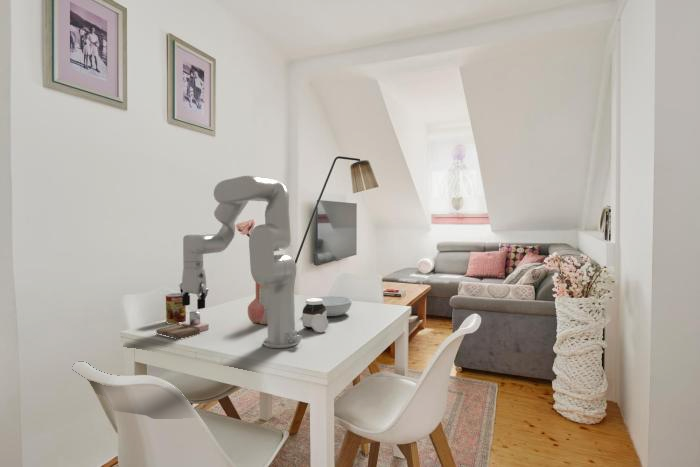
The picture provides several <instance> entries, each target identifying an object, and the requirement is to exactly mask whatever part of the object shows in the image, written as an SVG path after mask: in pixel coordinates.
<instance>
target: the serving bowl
mask: <svg viewBox="0 0 700 467" xmlns="http://www.w3.org/2000/svg"><path fill="white" fill-rule="evenodd" d="M314 298H320V299H323V305H324V306H325V307H326V311H327V316H335V317H338V316H341V315H344V314H345V313H347V312H348V311H349V310H350V308H351V306H352V299H351V298H349V297H347V296H340V295H339V296H338V295H328V296H327V295H325V296H324V295H321V296H316V297H314Z"/></svg>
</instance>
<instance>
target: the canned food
mask: <svg viewBox="0 0 700 467" xmlns="http://www.w3.org/2000/svg"><path fill="white" fill-rule="evenodd" d="M181 294H182V293H181V292H176V293H175V292H174V293H173V292H172V293H167V294H165V311H166V312H165V316H166V318H165V319H166V323H167V322H168V323H177V324H180V323H179V322H182V323H185V322H186V321H187V311H186V309H187V308H186V306H187V305H186V306H182V296H181ZM184 321H185V322H184ZM168 323H167V324H168Z"/></svg>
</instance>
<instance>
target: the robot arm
mask: <svg viewBox="0 0 700 467" xmlns="http://www.w3.org/2000/svg"><path fill="white" fill-rule="evenodd" d="M213 189H214V190H213V198H214V200H215V201H216V202H217V203H218V205H217V207H216V208H215V210H214V211H213V215H214V217H215V219H216V220H217V221H218V222H220V223H221V225H222V226H221V228H220V229H219V231H218V232H217V233H216V234H215V233H214V234H212V233H211V234H210V233H209V234H186V235H184V236H183V238H182V248H183V249H182V252H183V253H182V256H183V258H182V260H183V261H182V264H183V265H182V266H183V270H182V276H181V283H179V284H178V286H179V291H180V293H182V294H181V296H182V306H190V304H191V296H190V294H193V295H194V294H195V295H196V296H197V300H196V302H197V304H196V305H197V306H196V307H197V310H201V309H202V310H203V309H205V308H206V298H207V296H208V293H209V287H207V276H206V270H205V268H204V255H205V254H206V255H207V254H208V255H209V254H215V253H217V254H218V253H222V252H224V251H225V250H226V249H227V248H228V247H229V245H230V244H231V243H232V241H233V239H234V237H235V235H236V234H235V233H236V225H235V223H236V221H237V220H238V218H239V216H240V215H241V214H242V212H243V210H244V209H245V208H246V206H247V204H248V203H249V201H254V202H267V204H266V207H265V211H264V223H265V224H262V223H261V224H258V225H256V226H255V227H253V229H252V231H251V232H250V234H249V238H248V248H249V249H248V250H249V252H248V253H249V264H250V272H251V273H250V274H251V277H252V278H253V280H254V282H255V283H256V284H258V285H259V284H260V285H269V287H268V292H267V317H268V325H267V338H264V339H263V344H262V345H264V346H265V347H267V348H270V349H286V348H291V347H294V346H297V345H298V344H299V343H301V340H303V335H301V334H298V330H296V328H295V327H296V325H295V324H296V323H295V283H296V278H297V263H296V262H295V260H294V258H293V257H291V256H289V255H287V254H276V255H275V252H279V251H284V250H287V249H288V248H289V247H290V245H291V223H290V221H291V220H290V195H289V191H288V189H287V187H286V185H285V184H283V183H282V182H281V181H279V180H276V179H273V178H267V177H263V176H255V175H254V176H253V175H243V176H238V177H233V178H228V179H224V180H222V181H219V182H218V183H217V184H216V186H214V188H213Z"/></svg>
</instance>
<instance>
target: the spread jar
mask: <svg viewBox="0 0 700 467" xmlns="http://www.w3.org/2000/svg"><path fill="white" fill-rule="evenodd" d="M301 317H302V318H301V320H302V326H303V328H305V329H306V330H308V331H314V332H316V333H323V332H326V331H327V330H328V327H329V320H328V317H327V311H326V307H325V306H324V305H323V299H320V298H315V297H312V298H307V299H306V300H305V305H304V307H303V309H302V313H301Z"/></svg>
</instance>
